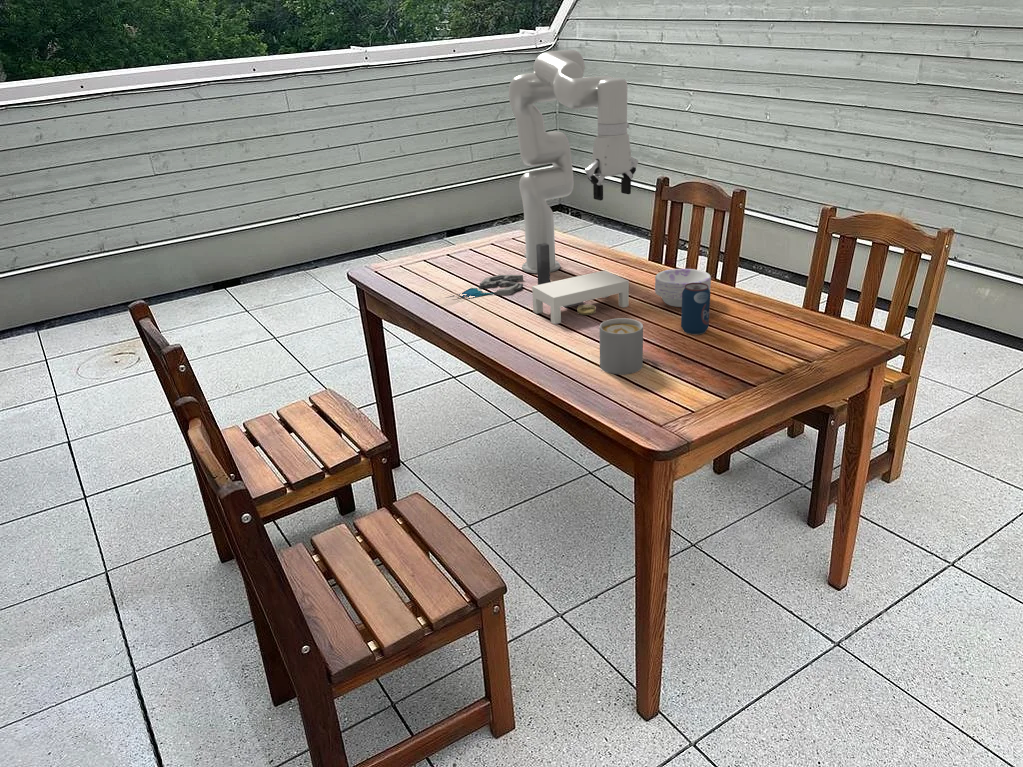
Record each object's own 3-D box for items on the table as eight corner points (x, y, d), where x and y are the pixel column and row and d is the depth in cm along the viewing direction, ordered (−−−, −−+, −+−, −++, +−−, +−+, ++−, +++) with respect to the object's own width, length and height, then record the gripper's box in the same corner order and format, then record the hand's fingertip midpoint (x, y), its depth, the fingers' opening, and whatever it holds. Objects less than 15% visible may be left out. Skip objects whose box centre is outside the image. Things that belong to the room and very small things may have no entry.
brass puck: (574, 312, 216) (574, 306, 216) (589, 308, 218) (589, 303, 217) (583, 317, 212) (583, 311, 211) (599, 313, 214) (599, 308, 213)
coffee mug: (622, 378, 175) (622, 337, 171) (591, 366, 182) (590, 326, 178) (661, 360, 182) (662, 321, 178) (629, 349, 190) (629, 311, 185)
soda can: (709, 336, 194) (711, 290, 189) (680, 335, 196) (682, 290, 191) (707, 326, 200) (710, 281, 195) (680, 325, 202) (682, 281, 197)
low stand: (533, 311, 218) (532, 286, 215) (604, 294, 227) (604, 270, 224) (554, 324, 208) (553, 297, 205) (628, 306, 217) (628, 280, 214)
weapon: (538, 288, 236) (515, 276, 249) (537, 282, 236) (515, 270, 248) (434, 315, 224) (416, 300, 236) (433, 309, 223) (415, 295, 235)
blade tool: (533, 290, 234) (531, 245, 228) (551, 286, 237) (549, 242, 231) (565, 307, 219) (563, 259, 213) (583, 303, 222) (582, 256, 216)
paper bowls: (686, 290, 227) (687, 263, 224) (721, 304, 215) (722, 276, 211) (643, 300, 221) (644, 273, 218) (676, 315, 209) (677, 287, 205)
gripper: (627, 124, 206) (627, 189, 213) (576, 132, 198) (578, 199, 205) (647, 126, 200) (645, 193, 208) (595, 135, 192) (596, 204, 199)
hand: (612, 196), depth 206 cm, fingers open, 9 cm apart
